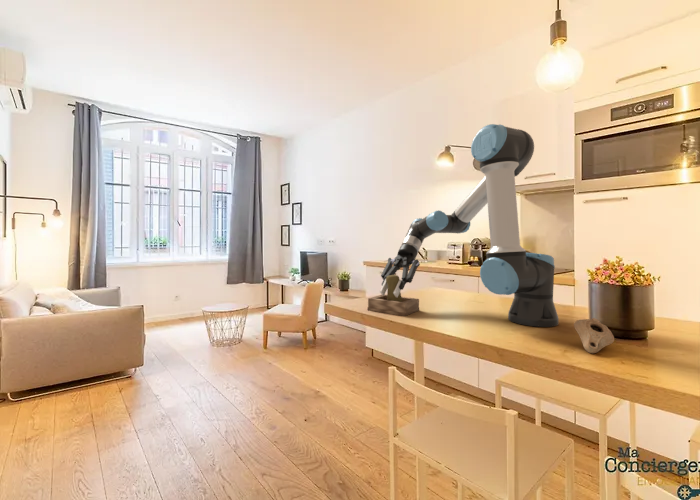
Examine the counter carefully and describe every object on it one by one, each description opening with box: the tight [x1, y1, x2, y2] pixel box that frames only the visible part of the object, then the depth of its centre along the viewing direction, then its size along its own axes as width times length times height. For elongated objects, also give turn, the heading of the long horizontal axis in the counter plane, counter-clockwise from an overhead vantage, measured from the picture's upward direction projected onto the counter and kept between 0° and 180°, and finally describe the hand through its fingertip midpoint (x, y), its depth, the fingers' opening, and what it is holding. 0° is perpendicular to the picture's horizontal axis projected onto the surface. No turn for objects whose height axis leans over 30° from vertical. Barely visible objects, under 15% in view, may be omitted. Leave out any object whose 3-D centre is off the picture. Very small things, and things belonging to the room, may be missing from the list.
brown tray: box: [367, 294, 420, 317], centre depth 135 cm, size 16×12×4 cm
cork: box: [386, 274, 403, 302], centre depth 135 cm, size 6×6×11 cm
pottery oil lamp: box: [573, 317, 615, 354], centre depth 91 cm, size 9×12×7 cm
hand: (388, 294), depth 132 cm, fingers closed on cork, 5 cm apart
